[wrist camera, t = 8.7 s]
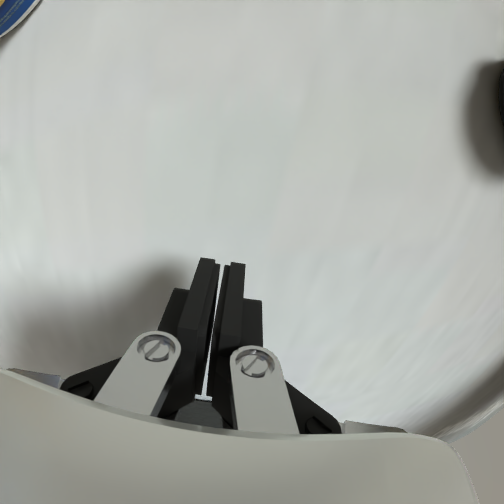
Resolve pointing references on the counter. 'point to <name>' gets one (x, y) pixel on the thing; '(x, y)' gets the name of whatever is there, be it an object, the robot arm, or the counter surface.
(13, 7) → the beverage bottle
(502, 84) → the tape measure
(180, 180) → the counter surface
